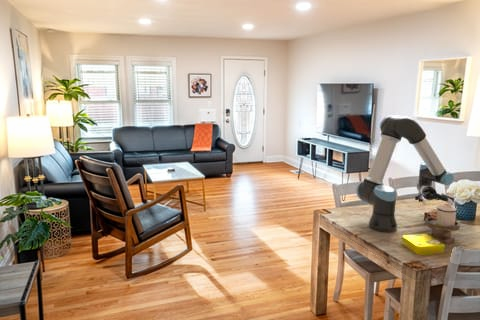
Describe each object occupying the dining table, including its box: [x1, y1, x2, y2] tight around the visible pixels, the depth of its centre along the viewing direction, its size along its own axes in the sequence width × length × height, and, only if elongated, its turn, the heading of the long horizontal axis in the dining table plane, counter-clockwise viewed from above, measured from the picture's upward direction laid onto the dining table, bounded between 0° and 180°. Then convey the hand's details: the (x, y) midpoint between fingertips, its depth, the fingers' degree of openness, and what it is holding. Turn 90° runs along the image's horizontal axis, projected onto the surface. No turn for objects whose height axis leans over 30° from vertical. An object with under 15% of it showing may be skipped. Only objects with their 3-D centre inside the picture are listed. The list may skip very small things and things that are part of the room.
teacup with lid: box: [429, 202, 458, 227], centre depth 197 cm, size 12×9×12 cm
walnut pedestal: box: [424, 215, 461, 244], centre depth 198 cm, size 16×16×9 cm
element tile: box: [401, 233, 446, 256], centre depth 187 cm, size 15×15×5 cm
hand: (438, 203), depth 205 cm, fingers open, 13 cm apart
